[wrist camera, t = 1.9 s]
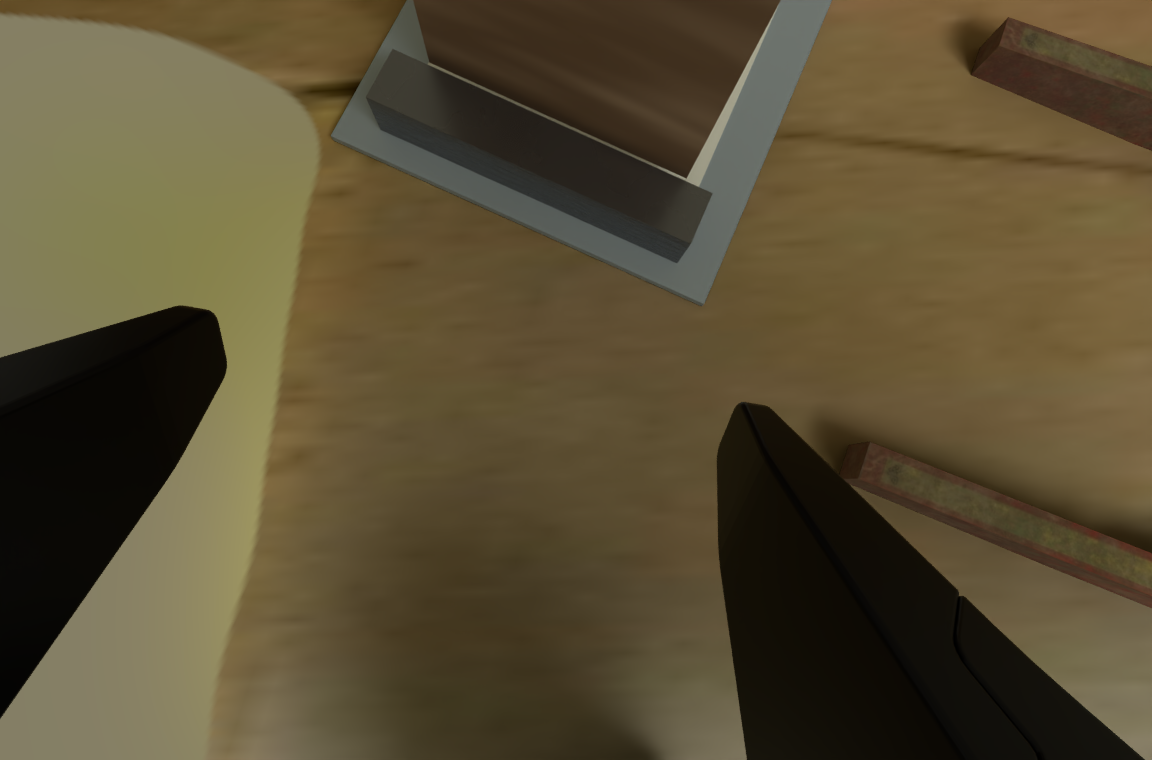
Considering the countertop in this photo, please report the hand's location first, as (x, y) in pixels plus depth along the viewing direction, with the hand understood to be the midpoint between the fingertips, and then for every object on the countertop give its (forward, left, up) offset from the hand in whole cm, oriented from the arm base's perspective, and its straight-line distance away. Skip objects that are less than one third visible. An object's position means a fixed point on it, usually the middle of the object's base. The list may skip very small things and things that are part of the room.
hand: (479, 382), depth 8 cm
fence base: (+10, 0, -13) cm, 16 cm away
